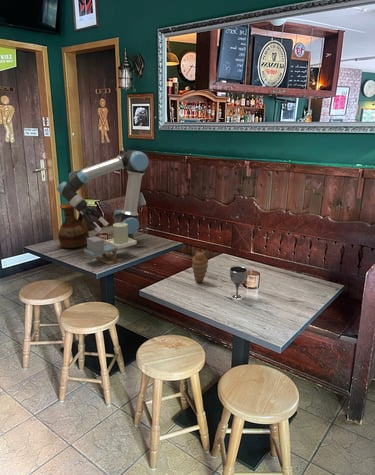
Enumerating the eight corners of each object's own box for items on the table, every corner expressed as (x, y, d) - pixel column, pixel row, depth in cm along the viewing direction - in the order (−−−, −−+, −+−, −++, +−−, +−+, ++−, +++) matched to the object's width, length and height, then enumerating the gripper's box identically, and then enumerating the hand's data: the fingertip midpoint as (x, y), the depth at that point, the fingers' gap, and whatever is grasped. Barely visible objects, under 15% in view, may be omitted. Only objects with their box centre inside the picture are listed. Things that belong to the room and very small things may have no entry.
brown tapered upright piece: (208, 280, 204) (209, 249, 199) (205, 286, 197) (206, 254, 191) (193, 278, 207) (194, 247, 201) (189, 284, 199) (189, 252, 194)
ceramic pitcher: (53, 246, 255) (49, 203, 246) (77, 239, 271) (73, 198, 262) (72, 252, 245) (68, 207, 236) (95, 244, 260) (93, 202, 251)
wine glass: (228, 293, 189) (229, 266, 185) (243, 294, 189) (245, 266, 185) (229, 300, 182) (230, 272, 177) (245, 301, 181) (247, 272, 177)
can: (130, 240, 239) (129, 222, 236) (126, 244, 230) (125, 226, 227) (115, 239, 240) (114, 221, 236) (111, 244, 231) (110, 225, 227)
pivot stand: (109, 255, 240) (108, 243, 238) (123, 261, 230) (122, 249, 228) (95, 258, 234) (95, 246, 231) (109, 265, 223) (108, 252, 221)
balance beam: (123, 240, 245) (123, 228, 243) (136, 246, 236) (136, 233, 233) (82, 251, 225) (81, 238, 223) (94, 257, 216) (93, 243, 213)
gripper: (82, 203, 243) (105, 226, 246) (66, 212, 219) (93, 237, 222) (89, 195, 241) (113, 219, 244) (74, 203, 217) (101, 229, 220)
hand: (103, 228), depth 233 cm, fingers open, 13 cm apart
